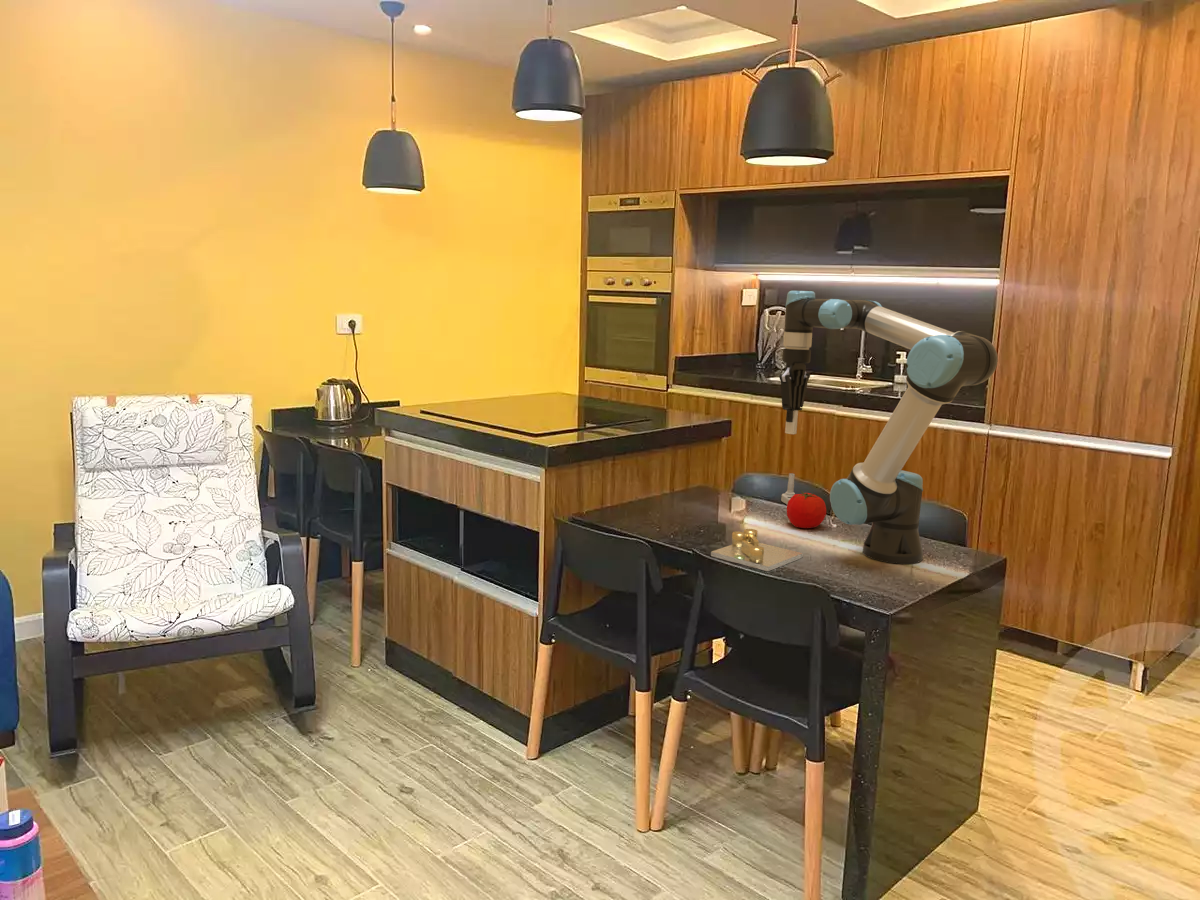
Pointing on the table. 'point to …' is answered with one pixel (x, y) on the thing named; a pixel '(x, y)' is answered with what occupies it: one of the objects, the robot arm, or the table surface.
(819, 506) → the tomato
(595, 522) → the table surface
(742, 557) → the plate
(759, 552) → the gold piece
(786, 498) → the grey post stand
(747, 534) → the gold block
